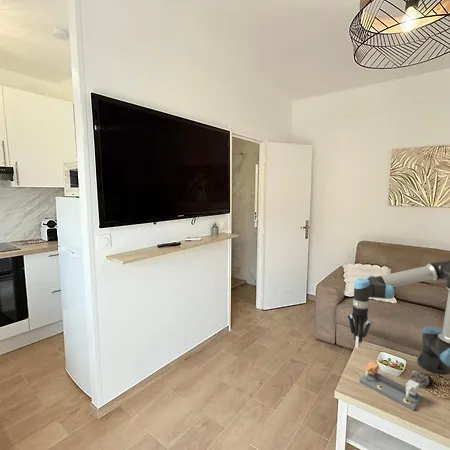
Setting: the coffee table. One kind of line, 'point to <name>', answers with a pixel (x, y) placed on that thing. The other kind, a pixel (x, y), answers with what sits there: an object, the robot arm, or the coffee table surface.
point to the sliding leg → (371, 369)
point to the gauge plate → (394, 390)
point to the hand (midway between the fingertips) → (357, 346)
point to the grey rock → (421, 379)
